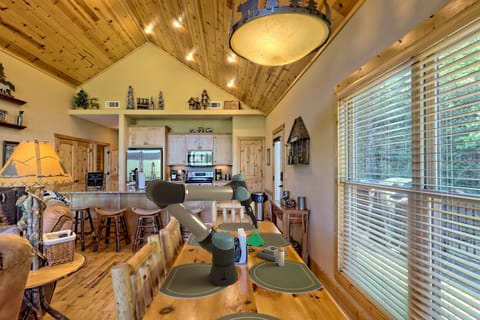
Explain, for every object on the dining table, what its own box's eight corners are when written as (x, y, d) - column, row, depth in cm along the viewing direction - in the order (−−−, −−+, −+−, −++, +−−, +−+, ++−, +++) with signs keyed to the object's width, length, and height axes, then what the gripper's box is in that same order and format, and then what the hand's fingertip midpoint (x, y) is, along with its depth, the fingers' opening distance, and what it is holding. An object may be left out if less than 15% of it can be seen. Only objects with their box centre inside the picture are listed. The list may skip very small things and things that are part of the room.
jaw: (282, 266, 149) (282, 249, 149) (277, 265, 151) (276, 248, 151) (285, 264, 152) (285, 248, 152) (280, 263, 154) (280, 246, 154)
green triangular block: (262, 242, 193) (262, 229, 193) (263, 246, 185) (263, 232, 185) (246, 243, 193) (246, 229, 192) (247, 246, 185) (247, 232, 185)
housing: (275, 262, 156) (275, 254, 156) (257, 256, 165) (257, 248, 165) (287, 255, 166) (287, 247, 166) (269, 250, 175) (269, 243, 175)
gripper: (255, 201, 146) (266, 234, 150) (245, 190, 170) (255, 218, 174) (243, 206, 145) (254, 239, 149) (235, 194, 169) (245, 223, 173)
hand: (255, 228), depth 162 cm, fingers open, 13 cm apart
